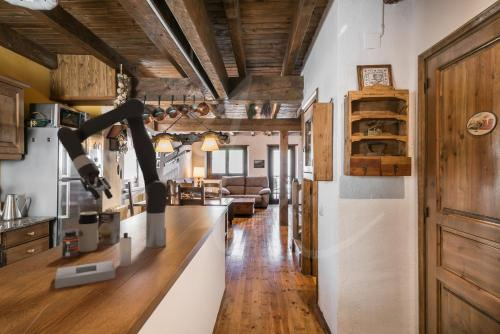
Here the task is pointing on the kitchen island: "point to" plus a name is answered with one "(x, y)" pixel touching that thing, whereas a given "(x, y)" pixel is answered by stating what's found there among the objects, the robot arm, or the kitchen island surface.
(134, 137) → the robot arm
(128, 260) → the plug
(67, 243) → the supplement bottle
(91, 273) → the socket
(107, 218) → the coffee box
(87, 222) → the travel mug
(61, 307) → the kitchen island surface
